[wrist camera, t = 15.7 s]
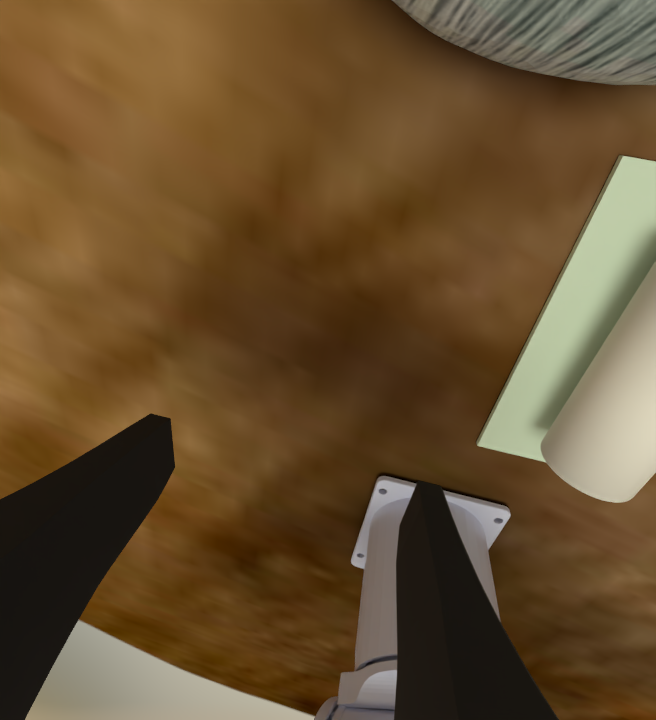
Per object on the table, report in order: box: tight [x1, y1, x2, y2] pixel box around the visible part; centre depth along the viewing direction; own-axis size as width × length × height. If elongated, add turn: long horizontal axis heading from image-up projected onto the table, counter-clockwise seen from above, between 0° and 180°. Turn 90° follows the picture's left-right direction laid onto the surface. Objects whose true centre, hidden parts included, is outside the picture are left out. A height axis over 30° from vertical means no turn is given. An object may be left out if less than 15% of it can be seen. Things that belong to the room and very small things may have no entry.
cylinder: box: [540, 261, 656, 503], centre depth 15 cm, size 10×4×4 cm, turn 171°
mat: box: [477, 155, 656, 462], centre depth 17 cm, size 14×8×1 cm, turn 171°
